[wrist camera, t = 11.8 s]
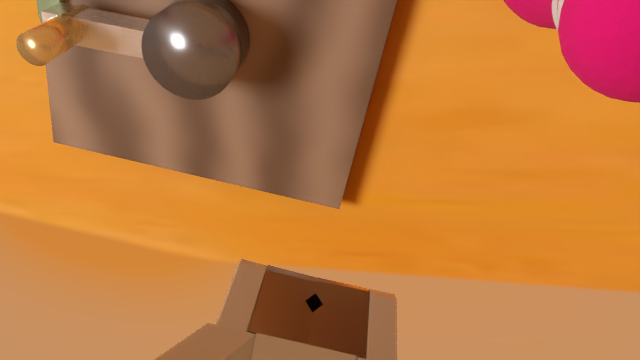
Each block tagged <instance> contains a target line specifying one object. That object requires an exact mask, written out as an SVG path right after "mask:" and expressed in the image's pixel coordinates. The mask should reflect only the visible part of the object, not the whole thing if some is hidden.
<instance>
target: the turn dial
mask: <svg viewBox="0 0 640 360" xmlns="http://www.w3.org/2000/svg"><path fill="white" fill-rule="evenodd" d="M41 13H42V20H43V23H41V24H39V25H37V26H35V27H33V28H31V29H29V30H27V31H25V32H24V33H22V34H20V35H19V36H18V38H17V49H18V51H19V53H20V55H21V56H22V57H23V58H24V59H25V60H26V61H27V62H29V63H31V64H33V65H37V66H42V65H45V64H47V63H48V62H50V61H51V60H53V59H55V58H56V57H58V56H59V55H61V54H62V53H64V52H65V51H67V50H69V49H70V48H72V47H73V46H75V45H76V46H82V47H87V48H92V49H97V50H102V51H107V52H113V53H118V54H123V55H128V56H133V57H138V58H143V59H144V62H145V64H146V66H147V68H148V70H149V72H150V73H151V75H152V76H153V78H154V79H155V80H156V81H157V82H158V83H159V84H160V85H161V86H162V87H163V88H165V89H166V90H168V91H169V92H171V93H173V94H175V95H177V96H179V97H182V98H186V99H192V100H202V99H207V98H211V97H213V96H215V95H217V94H219V93H220V92H222V91H223V90H224V89H225V88H226V87H227V86H228V84H229V83H230V81H231V80H232V78H233V77H234V75H235V74H236V72H237V71H238V69H239V68H240V66H241V65H242V63H243V62H244V60H245V59H246V57H247V54H248V51H249V46H250V35H249V30H248V26H247V23H246V21H245V19H244V17H243V15H242V14H241V12H240V11H239V10H238V9H237V7H236V6H235V5H234V4H232V3H231V2H230V1H229V0H175V1H174V2H172V3H171V4H170V5H168V6H167V7H165V8H164V9H163V10H161V11H160V12H159V13H157V14H156V15H155V16H154V17H153V18H152V19H151V20H149V19H143V18H138V17H133V16H128V15H123V14H117V13H112V12H107V11H102V10H97V9H92V8H91V7H89V6H87V5H84V4H78V5H71V4H65V3H58V4H56V5H54V6H52V7H50V8H48V9H46V10H43V11H41Z"/></svg>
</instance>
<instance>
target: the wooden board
mask: <svg viewBox="0 0 640 360" xmlns="http://www.w3.org/2000/svg"><path fill="white" fill-rule="evenodd" d="M174 1H175V0H37V7H38V12H39V13H38V14H39V18H40V21H41V23H43V20H42V13H41V11H43V10H46V9H48V8H50V7H52V6H54V5H56V4H58V3H65V4H71V5H78V4H84V5H87V6H89V7H91V8H92V9H97V10H102V11H107V12H112V13H117V14H123V15H128V16H133V17H138V18H143V19H149V20H151V19H152V18H153V17H154V16H155V15H156V14H157V13H159V12H160V11H161V10H163V9H164V8H165V7H167V6H168V5H170V4H171V3H172V2H174ZM229 1H230V2H231V3H232V4H234V5H235V6H236V7H237V9H238V10H239V11H240V12H241V14H242V15H243V17H244V19H245V21H246V23H247V26H248V30H249V35H250V46H249V51H248V54H247V57H246V59H245V60H244V62H243V63H242V65H241V66H240V68H239V69H238V71H237V72H236V74H235V75H234V77H233V78H232V80H231V81H230V83H229V84H228V86H227V87H226V88H225V89H224V90H223V91H222V92H220V93H219V94H217V95H215V96H213V97H211V98H207V99H202V100H192V99H186V98H182V97H179V96H177V95H175V94H173V93H171V92H169V91H168V90H166V89H165V88H163V87H162V86H161V85H160V84H159V83H158V82H157V81H156V80H155V79H154V78H153V76H152V75H151V73H150V72H149V70H148V68H147V66H146V64H145V62H144V59H143V58H138V57H133V56H128V55H123V54H118V53H113V52H107V51H102V50H97V49H92V48H87V47H82V46H76V45H75V46H73V47H72V48H70V49H69V50H67V51H65V52H64V53H62V54H61V55H59V56H58V57H56V58H55V59H53V60H51V61H50V62H48V63H47V64H46V71H47V81H48V91H49V101H50V111H51V121H52V130H53V140H54V142H55V143H59V144H64V145H68V146H72V147H76V148H81V149H85V150H89V151H93V152H98V153H102V154H106V155H111V156H115V157H119V158H123V159H128V160H132V161H136V162H140V163H145V164H149V165H153V166H157V167H162V168H166V169H170V170H175V171H179V172H183V173H187V174H192V175H196V176H200V177H204V178H209V179H213V180H217V181H222V182H226V183H230V184H234V185H239V186H243V187H247V188H251V189H256V190H260V191H264V192H269V193H273V194H277V195H281V196H286V197H290V198H294V199H298V200H303V201H307V202H311V203H316V204H320V205H324V206H328V207H333V208H337V209H340V205H341V201H342V198H343V194H344V190H345V187H346V183H347V180H348V176H349V172H350V169H351V165H352V162H353V158H354V154H355V151H356V147H357V143H358V140H359V136H360V133H361V129H362V125H363V122H364V118H365V115H366V111H367V107H368V104H369V100H370V96H371V93H372V89H373V86H374V82H375V78H376V75H377V71H378V68H379V64H380V60H381V57H382V53H383V50H384V46H385V42H386V39H387V35H388V31H389V28H390V24H391V21H392V17H393V13H394V10H395V6H396V3H397V0H229Z"/></svg>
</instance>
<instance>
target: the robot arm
mask: <svg viewBox="0 0 640 360" xmlns="http://www.w3.org/2000/svg"><path fill="white" fill-rule="evenodd" d="M396 305H397V299H396V297H395V295H394V294H391V293H386V292H381V291H376V290H372V289H369V290H368V289H366V288H362V287H358V286H353V285H348V284H344V283H340V282H335V281H330V280H326V279H321V278H316V277H312V276H308V275H304V274H300V273H296V272H292V271H289V270H285V269H281V268H277V267H273V266H269V265H268V266H266V265H263V264H259V263H255V262H251V261H247V260H244V259H241V261H240V262H239V264H238V266H237V268H236V271H235V274H234V277H233V279H232V282H231V285H230V287H229V290H228V293H227V296H226V298H225V301H224V304H223V306H222V309H221V312H220V314H219V317H218V320H217V323H216V325H215V324H210V323H208V324H206V325H205V326H203V327H201V328H200V329H198V330H197V331H195V332H194V333H193V334H191V335H190V336H188V337H187V338H185V339H184V340H182V341H181V342H180V343H178V344H177V345H175V346H174V347H172V348H171V349H169V350H168V351H166V352H165V353H163V354H162V355H160V356H159V357H157V358H156V359H154V360H397V306H396Z"/></svg>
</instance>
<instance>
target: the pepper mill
mask: <svg viewBox="0 0 640 360" xmlns="http://www.w3.org/2000/svg"><path fill="white" fill-rule="evenodd" d="M504 2H505V3H506V4H507V6H508V7H509V8H510V9H511V10H512V11H513V12H514V13H516V14H517V15H518V16H519V17H520V18H522V19H523V20H525V21H527V22H528V23H531V24H534V25H536V26H539V27H545V28H552V29H557V30H558V33H559V39H560V45H561V51H562V54H563V56H564V58H565V60H566V62H567V64H568V65H569V67H570V69H571V70H572V71H573V72H574V73H575V74H576V76H577V77H578V78H579V79H580V80H581V81H582V82H583V83H584V84H585V85H587V86H588V87H590V88H591V89H593V90H594V91H596V92H599V93H601V94H603V95H605V96H607V97H609V98H614V99H618V100H623V101H629V102H640V0H504Z"/></svg>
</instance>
